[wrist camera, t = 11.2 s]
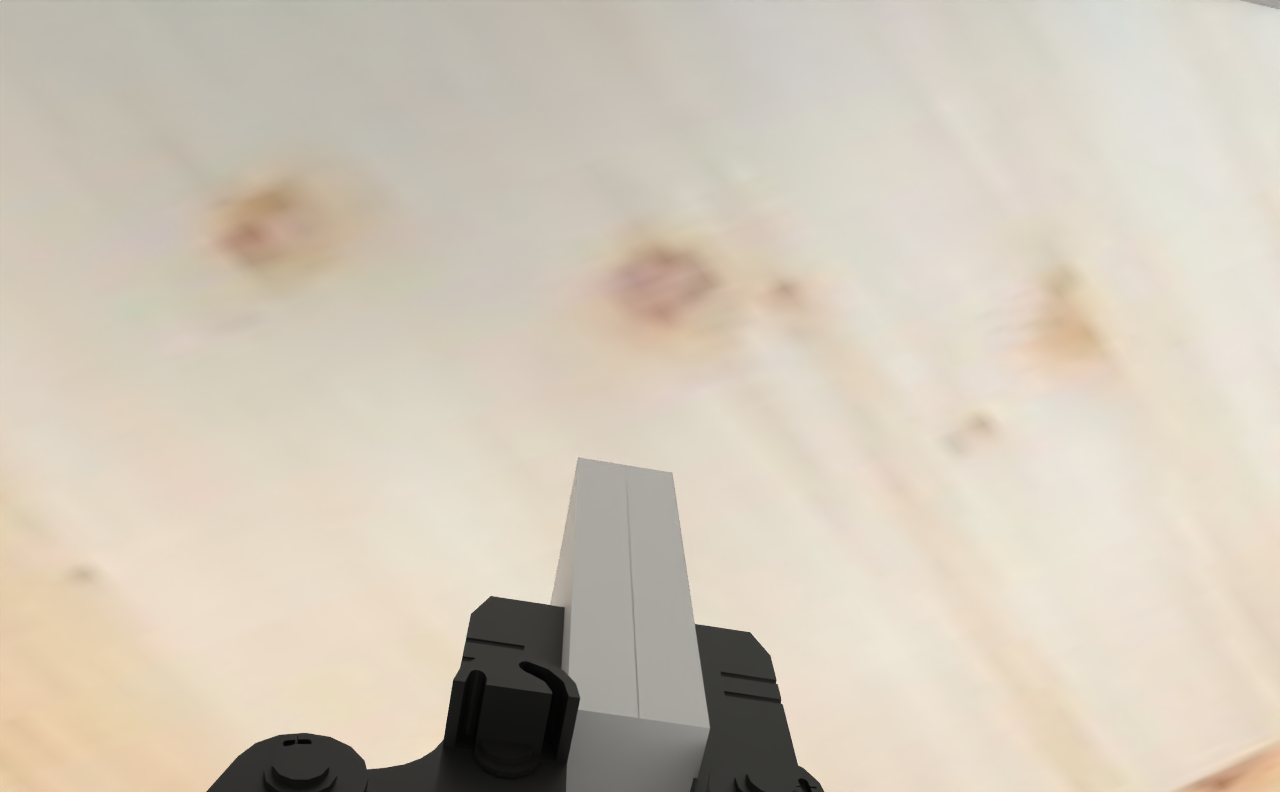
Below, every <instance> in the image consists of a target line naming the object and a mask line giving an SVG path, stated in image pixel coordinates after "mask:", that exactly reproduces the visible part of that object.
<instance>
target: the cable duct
mask: <svg viewBox="0 0 1280 792" xmlns="http://www.w3.org/2000/svg"><path fill="white" fill-rule="evenodd" d="M1242 1H1247V2H1251V3H1255V4H1260V5H1264V6H1269V7H1273V8H1277V9H1280V0H1242Z"/></svg>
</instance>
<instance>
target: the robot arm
mask: <svg viewBox="0 0 1280 792" xmlns="http://www.w3.org/2000/svg"><path fill="white" fill-rule="evenodd" d="M207 792H824V790H823V789H822V787H821V785H820V783H819V782H818V781H817V780H816V779H815V778H814V777H813V776H811V775H810V774H809V773H808V772H807V771H806V770H805V769H804V768H802V767H800V766H798V764H797V760H796V756H795V752H794V748H793V744H792V740H791V736H790V732H789V728H788V724H787V720H786V716H785V712H784V708H783V704H781V696H780V692H779V688H778V684H776V676H775V672H774V668H773V664H772V661H771V657H770V655H769V654H768V653H767V651H766V650H765V649H764V648H763V647H762V646H761V644H760V643H759V642H758V641H757V640H756V639H755V638H754V636H753V635H752V634H751V633H750V632H744V631H737V630H731V629H724V628H717V627H711V626H704V625H698V624H695V623H694V616H693V609H692V603H691V596H690V589H689V582H688V575H687V569H686V562H685V555H684V548H683V542H682V535H681V528H680V521H679V514H678V508H677V501H676V494H675V487H674V481H673V474H672V473H670V472H664V471H658V470H652V469H645V468H639V467H633V466H627V465H621V464H615V463H609V462H602V461H596V460H590V459H584V458H578V461H577V466H576V471H575V477H574V482H573V487H572V493H571V498H570V503H569V509H568V514H567V519H566V525H565V530H564V535H563V541H562V546H561V551H560V557H559V562H558V567H557V573H556V578H555V583H554V589H553V594H552V600H551V605H546V604H539V603H533V602H526V601H519V600H513V599H506V598H499V597H493V596H490V597H489V598H488V599H487V600H486V601H485V602H484V603H483V604H482V605H481V606H479V607H478V608H477V609H476V610H475V611H474V612H473V613H472V614H471V617H470V622H469V627H468V632H467V637H466V642H465V647H464V652H463V657H462V662H461V667H460V669H459V671H458V673H457V675H456V676H455V678H454V680H453V685H452V691H451V698H450V704H449V710H448V717H447V723H446V729H445V735H444V740H443V741H442V742H441V743H440V744H439V745H438V746H437V748H436V749H435V750H434V751H432V752H430V753H429V754H427V755H426V756H424V757H423V758H421V759H418V760H415V761H413V762H410V763H407V764H405V765H399V766H393V767H388V768H379V769H368V770H367V769H366V765H365V761H364V760H363V759H362V758H361V757H360V756H359V755H358V754H357V753H356V752H355V751H354V749H353V748H352V747H350V746H348V745H346V744H344V743H342V742H340V741H338V740H335V739H333V738H331V737H327V736H321V735H315V734H308V733H299V734H286V735H278V736H275V737H272V738H269V739H266V740H263V741H261V742H258V743H255V744H254V745H253V746H251V747H250V748H249V749H247V750H246V751H245V752H243V753H242V754H241V755H239V756H238V757H237V758H236V759H235V760H234V762H233V763H232V764H231V765H230V766H229V767H228V768H227V769H226V770H225V772H224V773H223V774H222V775H221V776H220V777H219V778H218V779H217V780H216V782H215V783H214V784H213V785H212V786H211V787H210V788H209V789H208V791H207Z"/></svg>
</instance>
